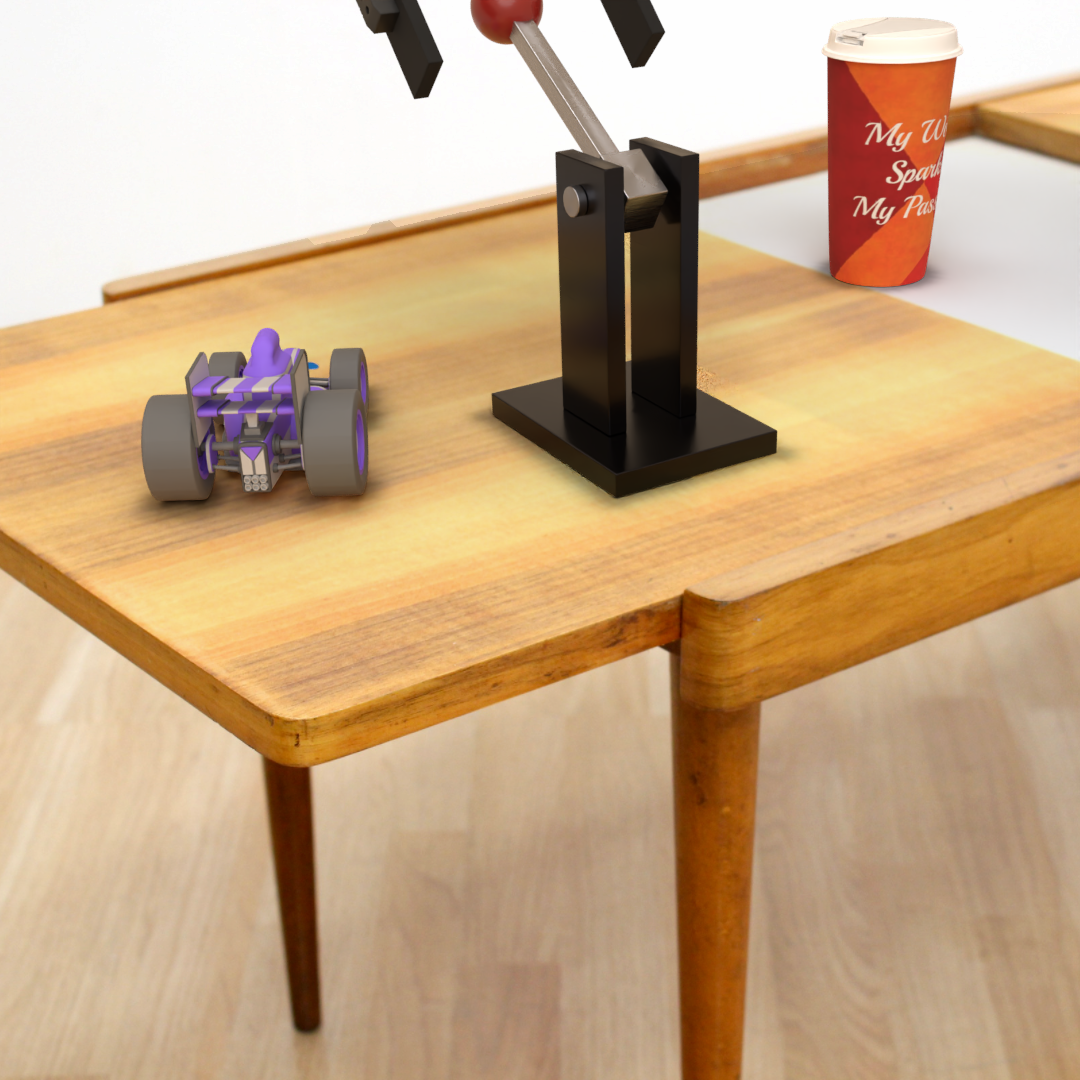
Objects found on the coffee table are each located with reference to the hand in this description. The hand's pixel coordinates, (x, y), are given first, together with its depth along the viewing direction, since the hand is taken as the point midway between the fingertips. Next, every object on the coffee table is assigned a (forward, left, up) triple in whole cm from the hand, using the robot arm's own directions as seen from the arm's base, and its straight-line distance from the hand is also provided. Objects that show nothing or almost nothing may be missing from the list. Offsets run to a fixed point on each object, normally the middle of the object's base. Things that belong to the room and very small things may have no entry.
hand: (542, 65), depth 75 cm
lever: (-1, +1, -2) cm, 3 cm away
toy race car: (+13, +8, -17) cm, 23 cm away
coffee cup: (-19, -20, -17) cm, 32 cm away
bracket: (-4, +6, -17) cm, 18 cm away
